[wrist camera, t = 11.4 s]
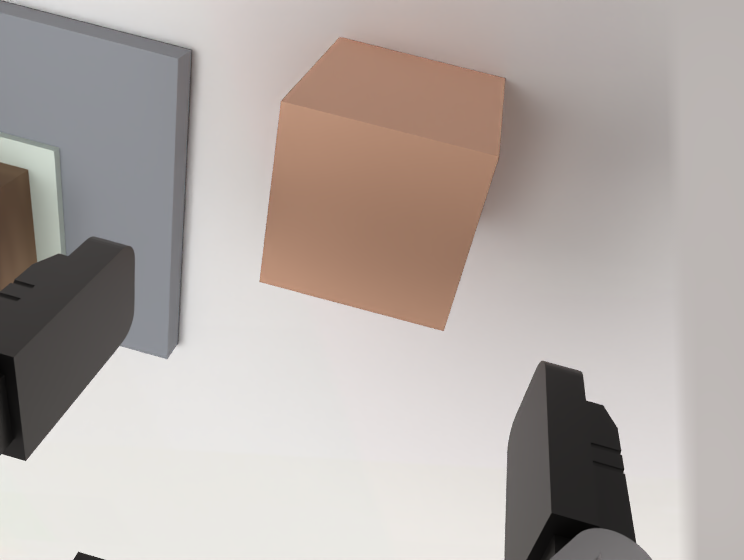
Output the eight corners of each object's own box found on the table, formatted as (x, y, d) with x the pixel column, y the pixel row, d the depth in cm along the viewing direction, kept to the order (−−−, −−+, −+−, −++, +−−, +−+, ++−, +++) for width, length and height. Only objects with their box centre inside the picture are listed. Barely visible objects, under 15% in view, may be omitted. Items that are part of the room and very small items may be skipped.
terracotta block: (339, 36, 20) (281, 101, 16) (505, 78, 20) (498, 156, 15) (315, 186, 23) (259, 281, 18) (460, 224, 23) (443, 331, 18)
